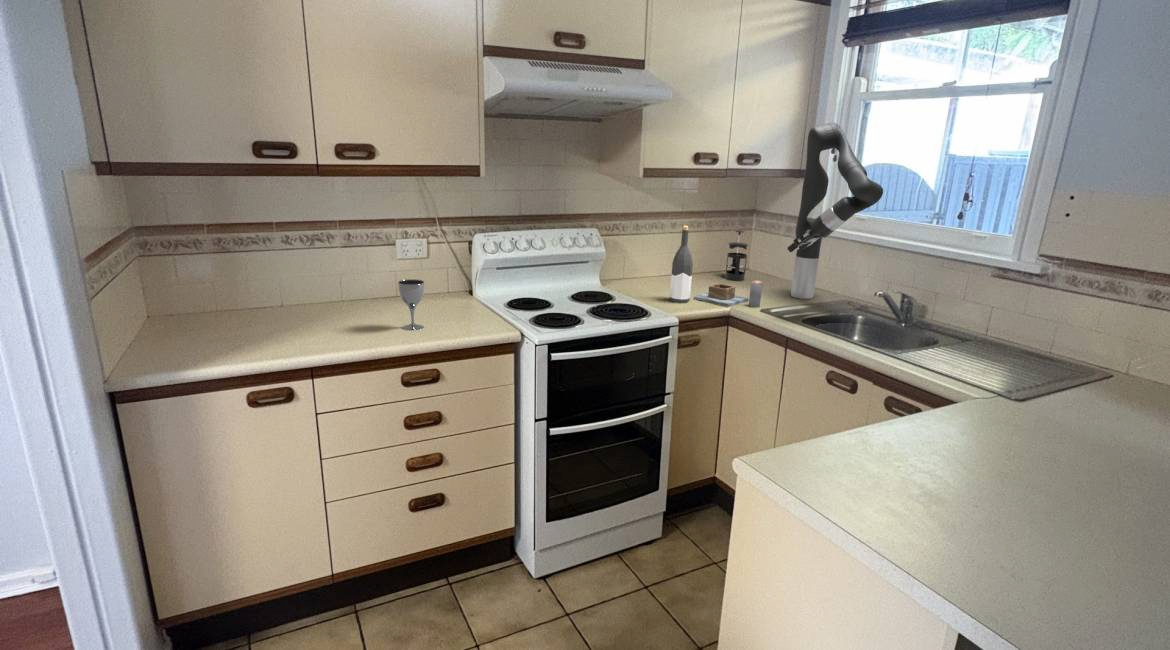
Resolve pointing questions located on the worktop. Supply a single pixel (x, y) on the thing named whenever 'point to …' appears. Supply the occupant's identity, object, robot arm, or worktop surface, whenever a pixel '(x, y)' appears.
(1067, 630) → the worktop surface
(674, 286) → the wine bottle
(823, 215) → the robot arm
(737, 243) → the french press
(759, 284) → the grey cylinder
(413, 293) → the wine glass
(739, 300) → the socket
